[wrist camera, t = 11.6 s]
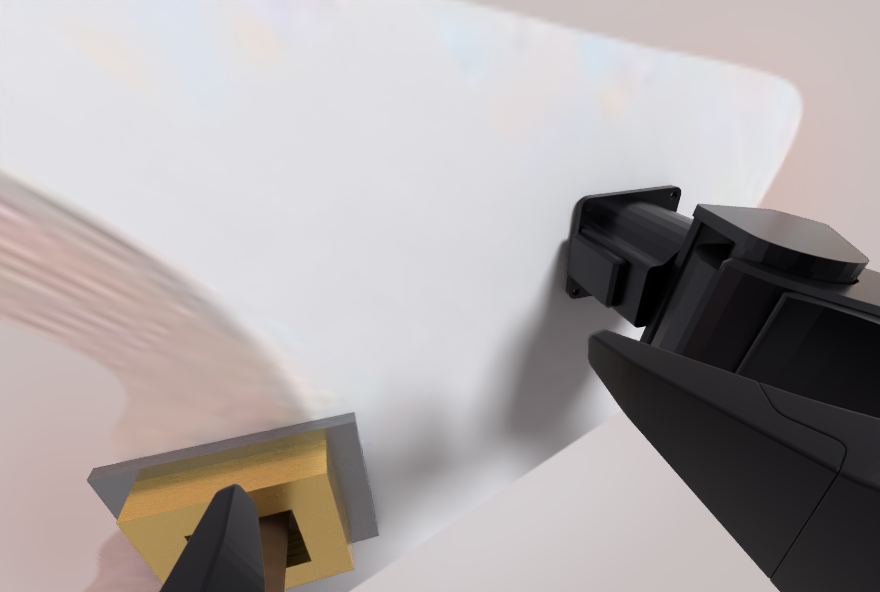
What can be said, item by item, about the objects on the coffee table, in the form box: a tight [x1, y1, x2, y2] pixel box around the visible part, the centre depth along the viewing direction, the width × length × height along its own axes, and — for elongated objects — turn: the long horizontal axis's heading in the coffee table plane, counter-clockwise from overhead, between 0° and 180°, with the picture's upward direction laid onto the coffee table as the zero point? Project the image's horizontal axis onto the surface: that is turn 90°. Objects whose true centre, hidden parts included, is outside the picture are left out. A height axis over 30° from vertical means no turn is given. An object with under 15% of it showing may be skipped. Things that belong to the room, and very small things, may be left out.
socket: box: [87, 413, 379, 589], centre depth 27 cm, size 15×13×3 cm
